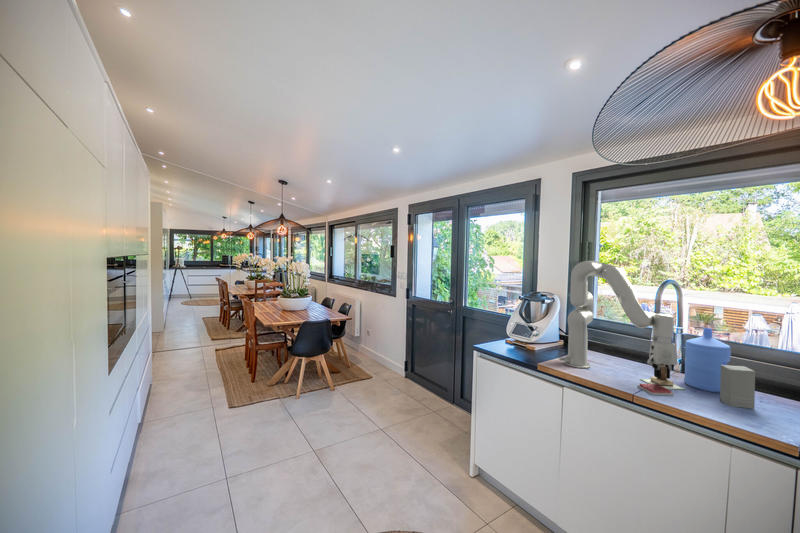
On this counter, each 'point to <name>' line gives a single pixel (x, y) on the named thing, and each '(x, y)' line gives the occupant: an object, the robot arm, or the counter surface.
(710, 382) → the water jug
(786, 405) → the counter surface
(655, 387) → the ink pad
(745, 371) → the skincare box
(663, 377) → the wooden stamp
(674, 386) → the marked square
